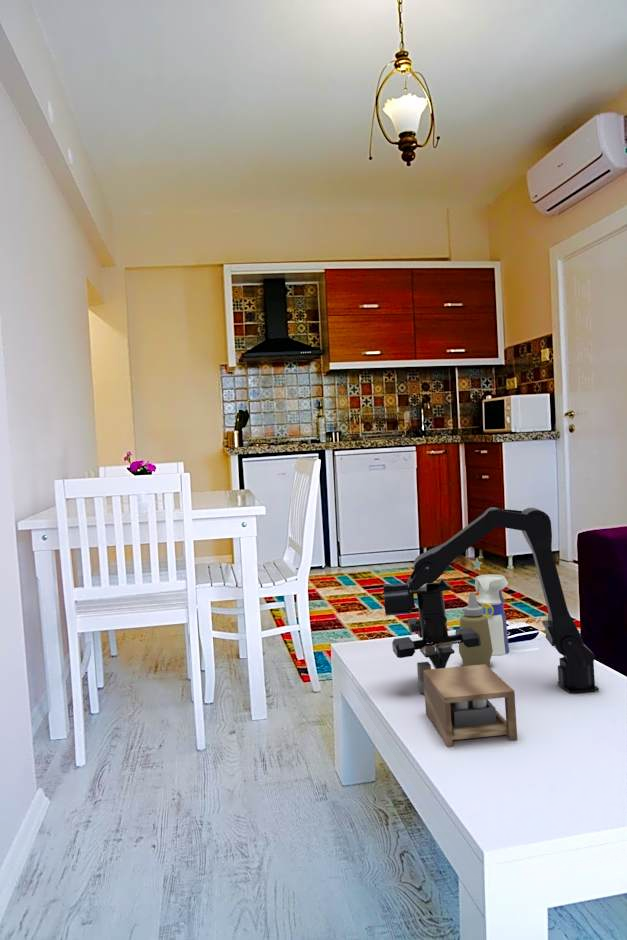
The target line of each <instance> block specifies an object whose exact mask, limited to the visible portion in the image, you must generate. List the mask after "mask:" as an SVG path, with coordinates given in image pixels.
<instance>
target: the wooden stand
mask: <svg viewBox="0 0 627 940" xmlns="http://www.w3.org/2000/svg"><path fill="white" fill-rule="evenodd" d="M423 674H424V690H425V694H424V701H425V702H424V703H425V714H426V716H427V717H428V719H429V720H430V722H431V724H432V726H433V727H434V728H435V730H436V731H437V733H438V735H439V736H440V738H441V740H442V741H443V743H444V744H445V745H446V747H447V748H451V747H454V744H453V743H454V742H453V741H454V740H452V724H451V708H450V703H453V702H464V701H474V700H484V699H488V700H491V699H492V700H493V699H503V698H504V708H505V709H504V710H505V720H506V727H507V734H506V738H507V739H508V740H509V741H518V731H517V714H516V713H517V711H516V709H517V708H516V697H515V696H516V695H515V690H514V689H513V688H512V687H511V686H510V685H508V684H507V683H506V681H504V679H502V678H501V677H500V676H499V675H498V674H496V673H495V671H493V670H492V669H491V668H490V667H489V666H487V665H486V664H482V665H472V666H464V665H462V666H453V667H452V666H450V667H445V668H440V669H435V668H431V669H429V670H423Z"/></svg>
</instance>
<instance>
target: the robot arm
mask: <svg viewBox="0 0 627 940" xmlns="http://www.w3.org/2000/svg"><path fill="white" fill-rule="evenodd" d="M497 528H505V529H511V530H516V531H517V530H518V531H521V533H522V535H523V537H524V539H525V541H526V542H527V544H528V546H529V548H530V550H531V553H532V555H533V556H532V557H533V561H534V563H535V567H536V571H537V575H538V578H539V581H540V586H541V589H542V593H543V597H544V601H545V604H546V608H547V612H548V613H547V620H542V621H541V624H542V625H543V627H544V629H545V630H544V631H545V639H546V640H547V641H548V643H549V644H550V645H551V646H552V647H554V648H555V650H556V651H557V652H558V653H559V654H560V655H562V656H563V657H559V665H557V673H558V674H557V678H558V680H557V684H558V685H559V686H560V687H562V688H563V689H564V690H565V691H566V692H568V693H569V694H575V693H576V694H577V693H588V692H594V691H595V692H596V691H599V690H600V688H599V687H598V686H597V685H596V681H595V665H594V664H595V662H594V661H595V658H596V655H595V654H594V652H592V650H591V649H590V648H589V647H588V646H587V645H586V644H585V643H584V639H583V638H582V636H581V633H580V631H579V629H578V627H577V625H576V623H575V622H574V620H573V617H571V614H570V612H569V610H568V607H567V602H566V598H565V596H564V595H565V594H564V590H563V586H562V583H561V580H560V576H559V571H558V569H557V565H556V561H555V557H554V555H553V554H554V553H553V550H552V549H553V548H552V546H553V545H552V544H553V543H552V542H553V533H552V532H553V531H552V529H553V528H552V520H551V518H550V516H549V515H548V514H547V513H546V512H544V511H543V510H541V509H538V508H536V507H528V508H525V509H524V510H517V509H507V508H498V507H495V506H493V507H489V508H487V509H486V510H485V511H484V512H483V513H482V514H481V515H479V516H478V517H477V518H476V519H474V520H473V521H471V522H470V523H469V524H468V525H466V526H465V527H464V528H462V529H461V530H460V531H459V532H457V533H456V534H455V535H453V536H452V537H451V538H449V539H448V540H446V541H445V542H443V543H441V544H440V545H437V546H435V547H432V548H430V549H429V550H426V551H424V552H423V553H421V554H419V555H417V556H416V557H415V558H414V560H413V567H412V569H413V571H412V572H411V574H410V576H409V577H408V579H407V581H406V583H398V584H396V583H395V584H390V583H388V584H383V587H382V588H383V600H384V601H383V605H384V606H383V607H384V613H385V616H387V617H388V616H400V615H408V614H412V612H413V609H416V604H415V596H414V595H416V599H417V608H418V618H417V617H411V618H407V625H408V631H409V633H410V634H414V633H417V636H418V637H419V638H420V639H418V640H412V639H411V637H409V636H407V637H406V636H404V637H400V638H399V637H398V638H394V639H393V640H392V641H391V642H392V643H391V644H392V645H391V646H392V651H393V653H394V655H395V657H396V658H399V659H402V658H410V657H413V656H414V655H415V653H416V650H419V651H420V652H421V654H422V655H423V656H424V657H425V658H428V659H429V661H430V662H431V665H432V666H433V669H440V668H447V667H446V666H447V664H448V661H449V660H450V657H451V655H453V654H455V650H454V649H453V645H455V644H459V643H463V644H464V645H465V646H466V647H468V648H469V647H476V646H480V645H481V641H480V636H479V634H478V633H477V632H475V631H474V630H473V629H472V628H464V629H460V628H458V629H455V632H454V633H455V634H450V635H449V633H448V624H447V622H448V618H447V616H446V608H445V607H446V606H445V601H444V592H448V591H451V590H452V588H451V584H450V583H448V582H447V581H445V579H444V578H443V577H442V578H440V577H441V576H442V575H443V574H444V573H445V572H446V571H447V570H448V568H449V566H450V565H451V564H452V563H453V562H454V560H455V559H457V558H458V557H459V556H461V555H462V554H463V553H465V552H466V551H467V550H468V549H470V547H472V546H474V545H475V544H476V543H477V542H479V541H480V540H481V539H483V538H484V537H486V536H487V535H488V534H489V533H492V531H494V530H495V529H497ZM439 578H440V579H439ZM438 579H439V581H438V582H437V580H438ZM424 585H425V586H424ZM423 586H424V587H423Z"/></svg>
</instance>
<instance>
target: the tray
mask: <svg viewBox="0 0 627 940" xmlns="http://www.w3.org/2000/svg"><path fill="white" fill-rule="evenodd" d="M450 708H451V723H452V724H453V726H454V727H455V728H459V727H469V726H479V725H489V724H496V711H497V708H496V707H495V706H494V705H493V704H492V703H491V701H489V699H484V700H474V701H464V702H453V703H450Z"/></svg>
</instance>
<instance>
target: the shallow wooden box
mask: <svg viewBox="0 0 627 940" xmlns="http://www.w3.org/2000/svg"><path fill="white" fill-rule="evenodd" d="M431 665H432V664H431V663H430V662H429V661H421V662H416V667H417V670H416V671H417V682H418V683H417V684H418V685H417V686H418V690H419V692H420V693H421V694H424V695H425V690H424V674H423V670H429V669H432V666H431ZM451 724H452V723H451ZM505 735H506V736H507V727H506V718H504V717H503V716H502V715H501V714H500V712H499V711H497V710H496V724H489V725H479V726H469V727H459V728H455V727H454V726H453V724H452V740H453V741H455V740H464V739H465V740H466V739H475V738H486V737H496V736H505Z"/></svg>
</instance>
